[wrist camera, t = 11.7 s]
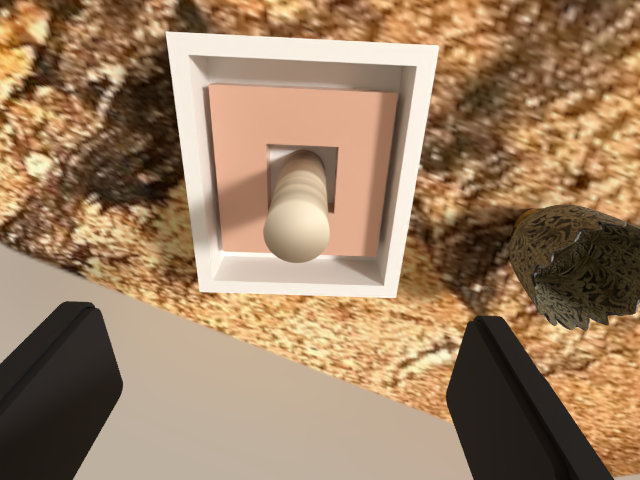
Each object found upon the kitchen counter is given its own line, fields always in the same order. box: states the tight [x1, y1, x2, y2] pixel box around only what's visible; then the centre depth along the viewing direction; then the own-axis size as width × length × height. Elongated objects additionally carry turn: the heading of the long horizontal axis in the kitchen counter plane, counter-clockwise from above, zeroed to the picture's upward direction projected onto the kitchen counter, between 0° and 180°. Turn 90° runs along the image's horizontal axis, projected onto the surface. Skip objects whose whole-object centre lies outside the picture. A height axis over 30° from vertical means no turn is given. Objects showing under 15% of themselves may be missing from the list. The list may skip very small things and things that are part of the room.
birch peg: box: [263, 150, 330, 263], centre depth 21 cm, size 3×3×10 cm
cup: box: [509, 205, 640, 331], centre depth 25 cm, size 8×7×8 cm
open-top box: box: [166, 32, 439, 298], centre depth 24 cm, size 16×14×4 cm
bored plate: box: [208, 82, 398, 257], centre depth 24 cm, size 11×11×2 cm
